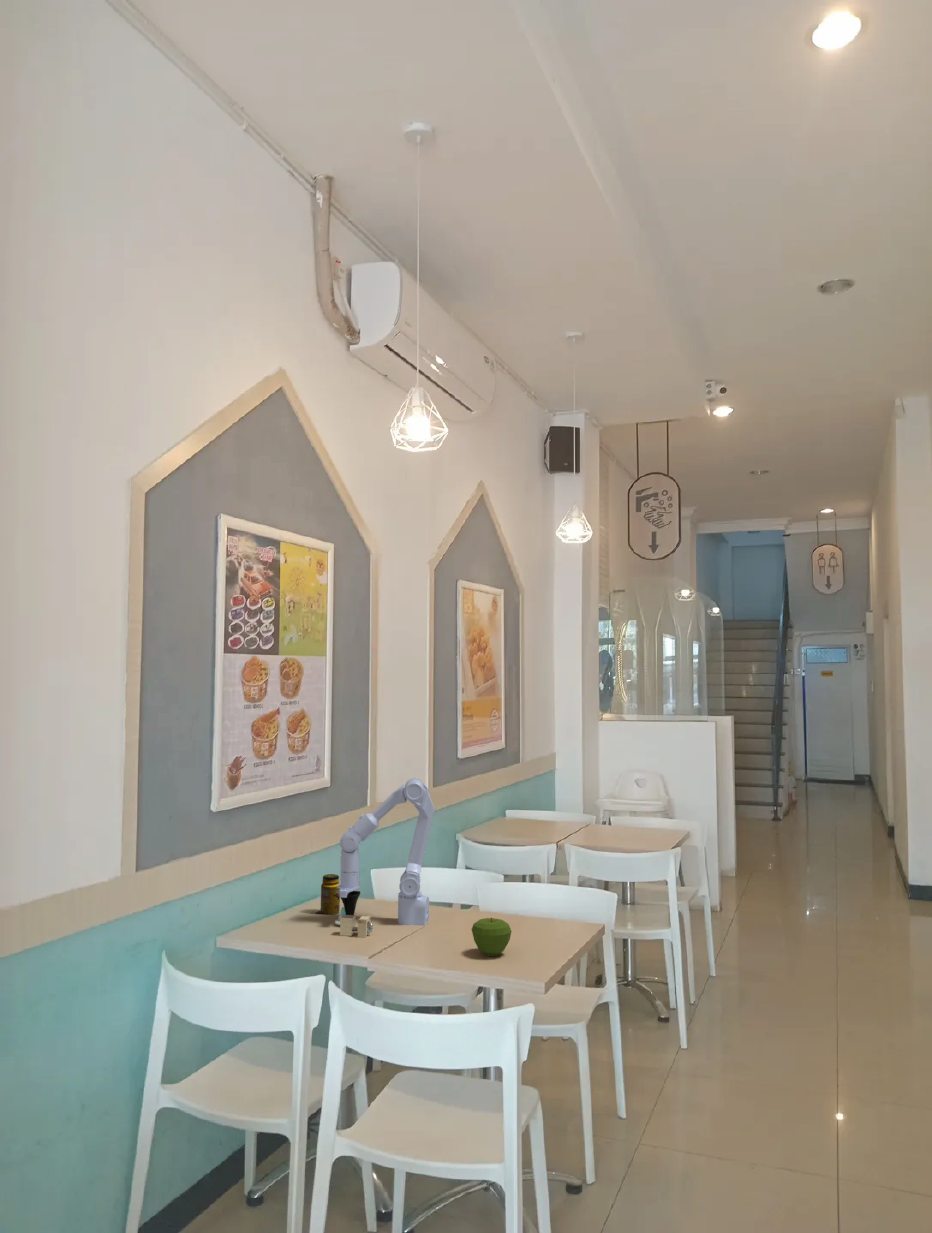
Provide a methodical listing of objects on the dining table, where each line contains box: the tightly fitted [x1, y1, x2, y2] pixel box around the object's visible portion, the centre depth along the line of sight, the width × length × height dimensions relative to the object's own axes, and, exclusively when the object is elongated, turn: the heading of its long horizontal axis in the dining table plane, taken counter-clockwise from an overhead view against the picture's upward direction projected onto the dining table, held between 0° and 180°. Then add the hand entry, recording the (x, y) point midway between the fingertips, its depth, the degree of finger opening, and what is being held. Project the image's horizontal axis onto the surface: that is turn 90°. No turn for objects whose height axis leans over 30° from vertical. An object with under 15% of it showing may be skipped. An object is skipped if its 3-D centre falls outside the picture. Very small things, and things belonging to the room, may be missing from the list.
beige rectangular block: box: [339, 914, 374, 937], centre depth 262 cm, size 9×4×5 cm, turn 80°
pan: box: [334, 906, 346, 926], centre depth 274 cm, size 8×4×3 cm, turn 4°
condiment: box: [311, 873, 341, 916], centre depth 289 cm, size 7×8×12 cm
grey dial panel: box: [338, 915, 372, 939], centre depth 267 cm, size 15×15×6 cm
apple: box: [471, 917, 513, 957], centre depth 247 cm, size 11×10×10 cm
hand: (350, 916), depth 276 cm, fingers closed, pressing on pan
